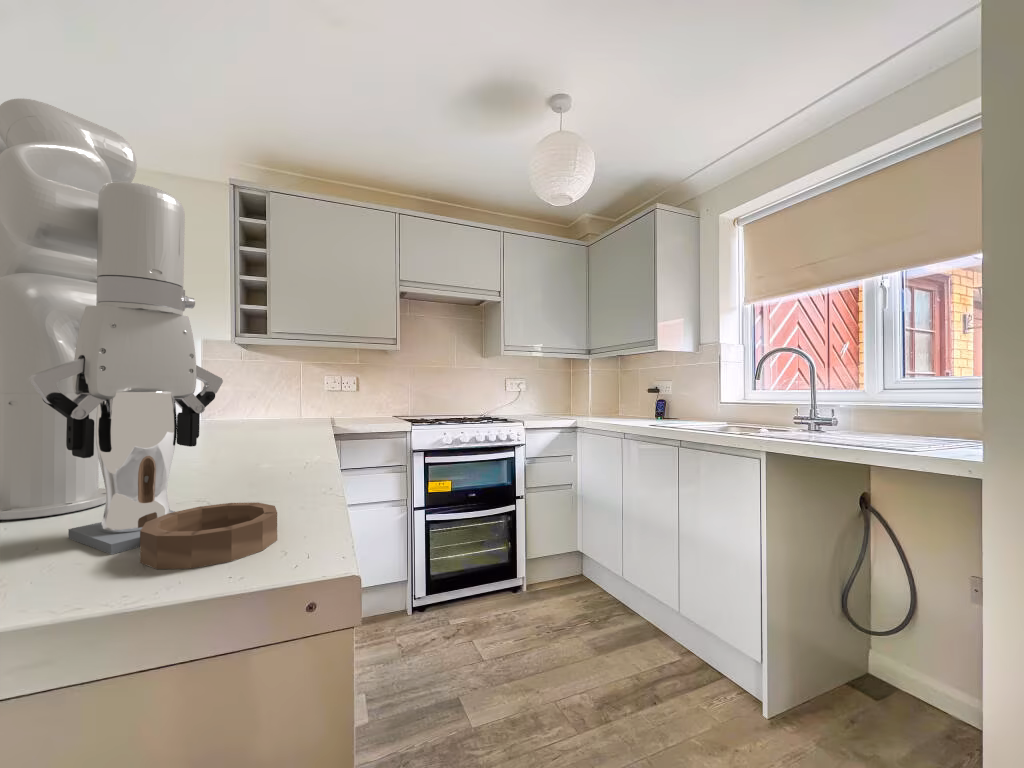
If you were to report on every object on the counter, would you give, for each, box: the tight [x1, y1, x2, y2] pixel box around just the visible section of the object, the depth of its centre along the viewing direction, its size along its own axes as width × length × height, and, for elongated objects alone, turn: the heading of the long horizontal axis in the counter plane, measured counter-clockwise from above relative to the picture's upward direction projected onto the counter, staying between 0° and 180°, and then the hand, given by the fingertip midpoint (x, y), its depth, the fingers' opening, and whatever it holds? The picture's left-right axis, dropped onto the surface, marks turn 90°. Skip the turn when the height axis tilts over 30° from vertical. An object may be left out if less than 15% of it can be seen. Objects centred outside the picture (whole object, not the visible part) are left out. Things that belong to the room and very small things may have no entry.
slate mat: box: [67, 509, 176, 555], centre depth 50 cm, size 10×9×1 cm
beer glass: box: [96, 391, 177, 533], centre depth 50 cm, size 7×7×15 cm
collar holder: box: [139, 502, 278, 570], centre depth 46 cm, size 11×11×3 cm
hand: (138, 450), depth 50 cm, fingers open, 9 cm apart
